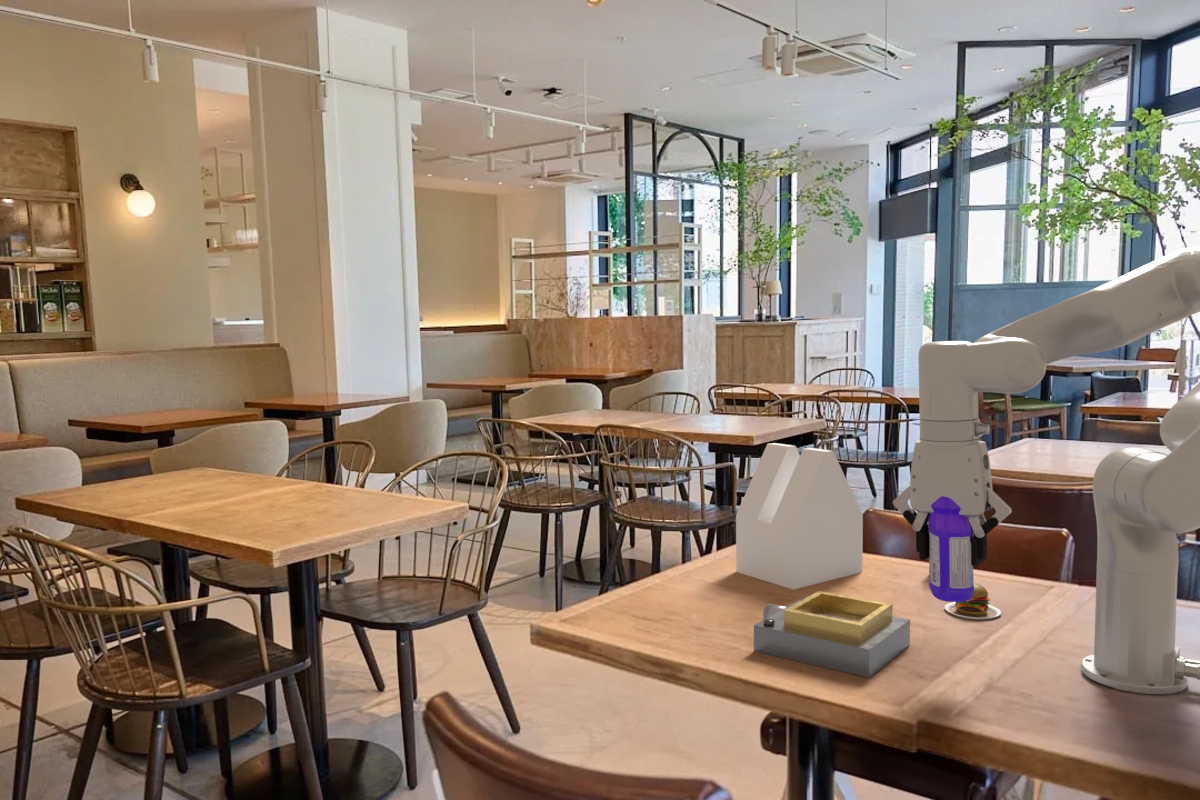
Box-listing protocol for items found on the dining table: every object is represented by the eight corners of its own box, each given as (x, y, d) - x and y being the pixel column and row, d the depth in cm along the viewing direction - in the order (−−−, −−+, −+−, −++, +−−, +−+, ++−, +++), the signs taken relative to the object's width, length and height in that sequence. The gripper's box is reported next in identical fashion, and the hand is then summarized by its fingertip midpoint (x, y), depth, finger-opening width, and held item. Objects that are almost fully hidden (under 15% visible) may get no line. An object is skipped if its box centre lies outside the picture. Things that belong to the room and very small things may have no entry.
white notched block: (803, 557, 193) (803, 439, 191) (862, 572, 181) (863, 446, 179) (736, 572, 182) (735, 447, 180) (793, 590, 170) (793, 456, 168)
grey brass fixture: (909, 644, 140) (910, 603, 139) (869, 677, 127) (869, 632, 127) (779, 618, 153) (779, 580, 153) (730, 645, 141) (730, 604, 140)
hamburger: (989, 632, 147) (989, 599, 146) (920, 615, 156) (921, 583, 155) (1024, 616, 154) (1025, 584, 154) (957, 600, 164) (957, 570, 163)
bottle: (978, 605, 123) (977, 476, 121) (933, 604, 124) (931, 476, 123) (968, 589, 130) (966, 467, 128) (926, 588, 131) (924, 468, 130)
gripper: (1024, 430, 123) (1025, 562, 124) (896, 426, 133) (899, 548, 135) (1008, 437, 117) (1010, 575, 118) (876, 432, 127) (879, 559, 129)
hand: (951, 559), depth 127 cm, fingers closed on bottle, 6 cm apart
